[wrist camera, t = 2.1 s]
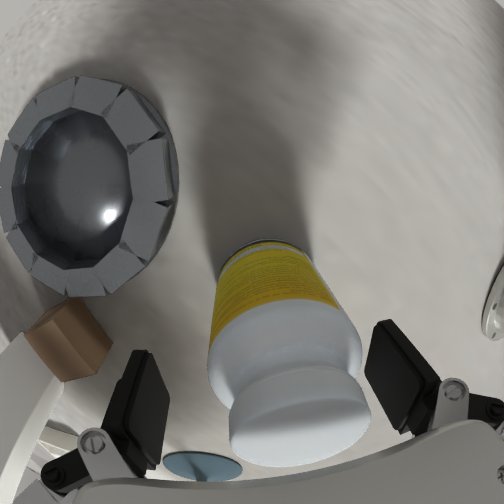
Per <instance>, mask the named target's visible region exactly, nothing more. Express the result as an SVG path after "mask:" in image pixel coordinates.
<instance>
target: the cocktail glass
mask: <svg viewBox="0 0 504 504" xmlns="http://www.w3.org/2000/svg"><path fill="white" fill-rule="evenodd" d="M163 464H164V466H165V467H166V468H167V469H168V470H169V471H171V472H172V473H174V474H176V475H179V476H181V477H184V478H188V479H192V480H196V481H197V482H207V481H208V482H217V481H226V480H230V479H234V478H236V477H238V476H239V475H240V474H241V473H242V467H241V466H240V465H239V464H238V463H237V462H235V461H233V460H231V459H228V458H225V457H222V456H218V455H213V454H207V453H196V452H181V453H174V454H171V455H168V456H166V457H165V458H164V460H163Z"/></svg>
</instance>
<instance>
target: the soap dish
mask: <svg viewBox="0 0 504 504" xmlns="http://www.w3.org/2000/svg"><path fill="white" fill-rule="evenodd" d="M78 438H79V437H78V436H74V435H71V434H68V433H64V432H61V431H58V430H55V429H52V428H49V427H47V426H45V427H44V429H43V431H42V433H41V435H40V437H39V439H38V442H39V443H40V444H41V445H42V446H43V447H44V448H45V449H46V450H47V451H48V452H49V453H50V449H51V447H52V446H53V447H55V448H58V449H61V450H63V451H66V452H70V451H72V450H74V449H76V448H78V447H77V440H78ZM50 454H51V453H50ZM51 455H52V454H51ZM52 456H53V455H52ZM53 457H54V456H53ZM54 458H55V457H54ZM55 459H56V458H55Z"/></svg>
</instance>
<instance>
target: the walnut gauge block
mask: <svg viewBox="0 0 504 504" xmlns="http://www.w3.org/2000/svg"><path fill="white" fill-rule="evenodd" d="M24 337H25V339H26V340H27V341H28V343H29V344H30V345H31V347H32V348H33V349H34V351H35V352H36V353H37V354H38V356H39V357H40V358H41V359H42V361H43V362H44V363H45V364H46V366H47V367H48V368H49V369H50V370H51V371H52V373H53V374H54V375H55V376H56V377H57V378H58V379H59V381H60V382H61V383H62V382H66V381H70V380H75V379H79V378H83V377H87V376H90V375H94V374H96V373H97V371H98V369H99V367H100V366H101V364H102V362H103V360H104V358H105V356H106V355H107V353H108V351H109V349H110V347H111V346H112V344H113V342H112V341H111V340H110V339H109V337H108V336H107V335H106V333H105V332H104V331H103V329H102V328H101V327H100V325H99V324H98V323H97V321H96V320H95V318H94V317H93V316H92V314H91V313H90V311H89V310H88V308H87V307H86V306H85V304H84V303H83V301H82V300H81V298H80V297H70V298H69V299H67V300H65V301H64V302H62V303H60V304H58V305H57V306H55V307H53V308H52V309H50V310H48V311H47V312H46V313H45V314H44V315H43V316H42V317H41V318H40V319H39V320H38V321H37V322H36V323H35V324H34V325H33V326H32V327H31V328H30V329H29V330H28V331H27V333H26V334H25V335H24Z"/></svg>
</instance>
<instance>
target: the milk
mask: <svg viewBox="0 0 504 504" xmlns="http://www.w3.org/2000/svg"><path fill="white" fill-rule="evenodd" d="M24 335H25V334H24V333H23V332H20V333H19V334H18V335H17V336H16V338H15V339H14V340H13V341H12V342H11V343H10V344H9V345H8V346H7V348H6V349H5V350H4V351H3V352H2V353H1V354H0V504H12V502H13V499H14V496H15V493H16V490H17V488H18V485H19V483H20V480H21V478H22V475H23V473H24V470H25V468H26V465H27V463H28V461H29V458H30V456H31V454H32V452H33V450H34V447H35V445H36V443H37V441H38V439H39V437H40V435H41V433H42V431H43V429H44V427H45V425H46V423H47V421H48V419H49V417H50V415H51V413H52V411H53V410H54V408H55V406H56V404H57V402H58V400H59V399H60V397H61V395H62V393H63V391H64V382H62V383H61V382H60V381H59V379H58V378H57V377H56V376H55V375H54V374H53V373H52V371H51V370H50V369H49V368H48V367H47V366H46V364H45V363H44V362H43V361H42V359H41V358H40V357H39V356H38V354H37V353H36V352H35V351H34V349H33V348H32V347H31V345H30V344H29V343H28V341H27V340H26V339H25V337H24Z"/></svg>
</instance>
